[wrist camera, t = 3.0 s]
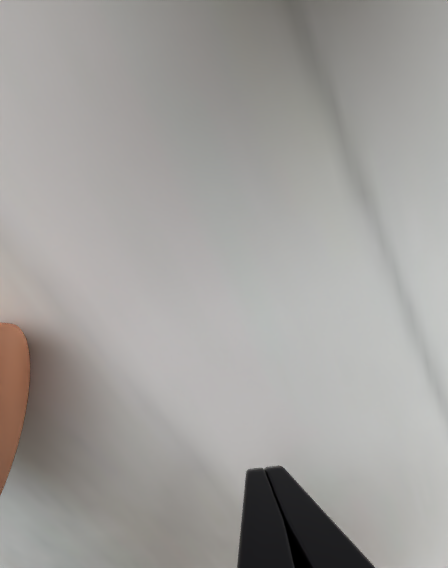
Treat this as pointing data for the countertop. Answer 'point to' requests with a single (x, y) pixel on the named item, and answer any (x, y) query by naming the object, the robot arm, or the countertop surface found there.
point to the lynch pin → (12, 393)
